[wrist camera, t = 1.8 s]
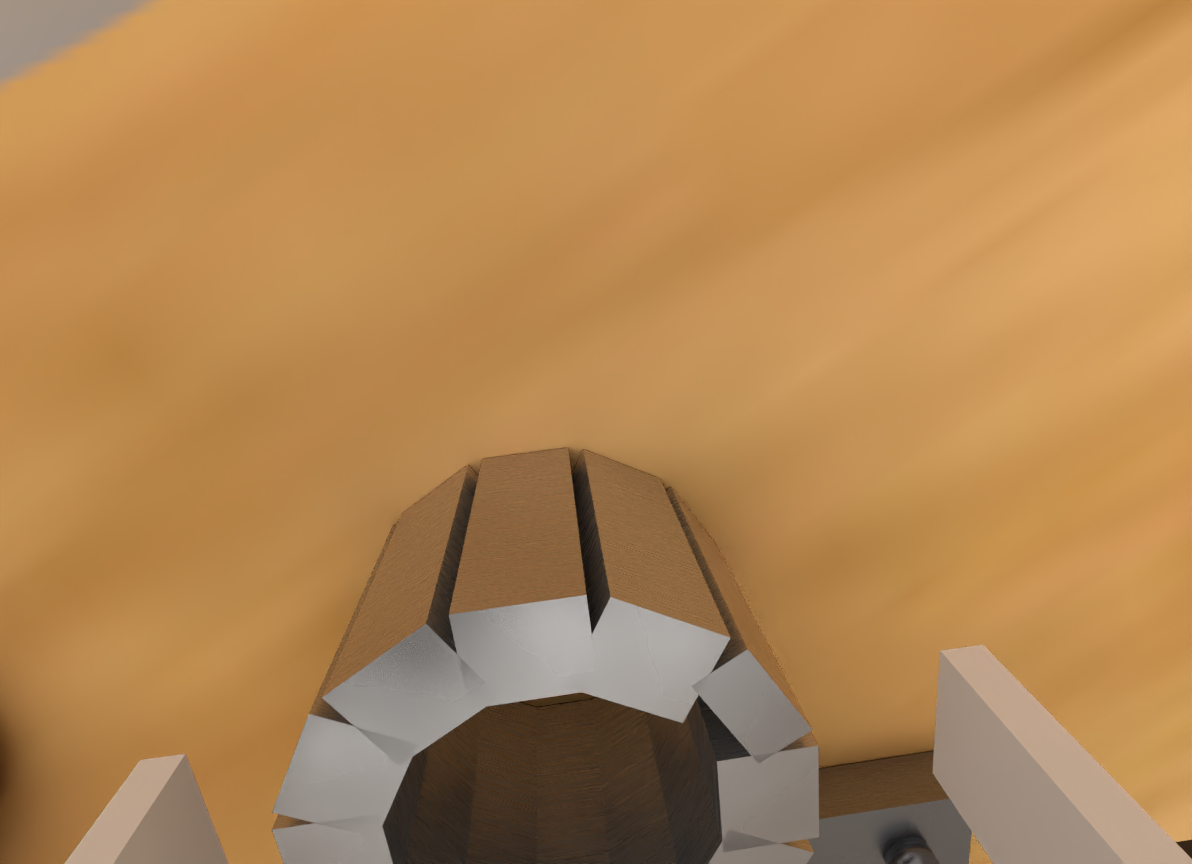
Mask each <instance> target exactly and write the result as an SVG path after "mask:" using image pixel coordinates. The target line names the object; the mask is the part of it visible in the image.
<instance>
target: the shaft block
mask: <svg viewBox="0 0 1192 864" xmlns="http://www.w3.org/2000/svg"><path fill="white" fill-rule="evenodd" d="M933 756H934V751H931V752H925V753H918V754H912V755H906V756H899V757H893V758H886V759H880V760H873V761H867V762H861V763H854V764H848V765H841V766H835V767H828V768H822V769H819V837H817V838H811V839H808V840H809V842H810V845H811V847H812V849H813V852H814V854H813V855H812V856H811V858H810V859H809V861H808V862H807V864H969V852H970V841H971V830H970V828H969V827H968V825H967V824H966V822H965V821H964V819H963V818H962V816H961V815H960V813H959V812H958V810H957V809H956V807H955V806H954V804H953V803H952V801H951V800H950V798H949V797H948V795H947V794H946V792H945V791H944V789H943V788H942V786H941V785H940V783H939V782H938V780H937V779H936V777H935V776H934V774H933V773H932V772H933Z"/></svg>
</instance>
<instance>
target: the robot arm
mask: <svg viewBox="0 0 1192 864" xmlns="http://www.w3.org/2000/svg"><path fill="white" fill-rule="evenodd" d="M932 773H933V774H934V776H935V777H936V779H937V780H938V782H939V783H940V785H941V786H942V788H943V789H944V791H945V792H946V794H947V795H948V797H949V798H950V800H951V801H952V803H953V804H954V806H955V807H956V809H957V810H958V812H959V813H960V815H961V816H962V818H963V819H964V821H965V822H966V824H967V825H968V827H969V828H970V830H971V831H972V833H973V834H974V836H975V837H976V839H977V840H978V842H979V843H980V845H981V846H982V848H983V849H984V851H985V852H986V854H987V855H988V857H989V858H990V860H991V861H992V863H993V864H1192V840H1187V841H1181V842H1175V841H1174V840H1173V839H1172V838H1171V837H1170V836H1169V835H1168V834H1167V833H1166V832H1165V831H1164V830H1163V829H1162V828H1161V827H1160V826H1159V825H1158V824H1157V823H1156V822H1155V821H1154V820H1153V819H1152V818H1151V817H1150V816H1149V814H1148V813H1147V812H1146V811H1145V810H1144V809H1143V808H1142V807H1141V806H1140V805H1139V804H1138V803H1137V802H1136V801H1135V800H1134V799H1133V798H1132V797H1131V796H1130V795H1129V794H1128V793H1127V792H1126V791H1125V790H1124V789H1123V788H1122V787H1121V786H1120V785H1119V784H1118V783H1117V782H1116V781H1115V780H1114V779H1113V778H1112V777H1111V776H1110V774H1109V773H1108V772H1107V771H1106V770H1105V769H1104V768H1103V767H1102V766H1101V765H1100V764H1099V763H1098V762H1097V761H1096V760H1095V759H1094V758H1093V757H1092V756H1091V755H1090V754H1089V753H1088V752H1087V751H1086V750H1085V749H1084V748H1083V747H1082V746H1081V745H1080V744H1079V743H1078V742H1077V741H1076V740H1075V739H1074V738H1073V737H1072V735H1071V734H1070V733H1069V732H1068V731H1067V730H1066V729H1065V728H1064V727H1063V726H1062V725H1061V724H1060V723H1059V722H1058V721H1057V720H1056V719H1055V718H1054V717H1053V716H1052V715H1051V714H1050V713H1049V712H1048V711H1047V710H1046V709H1045V708H1044V707H1043V706H1042V705H1041V704H1040V703H1039V702H1038V701H1037V700H1036V699H1035V698H1034V697H1033V695H1032V694H1031V693H1030V692H1029V691H1028V690H1027V689H1026V688H1025V687H1024V686H1023V685H1022V684H1021V683H1020V682H1019V681H1018V680H1017V679H1016V678H1015V677H1014V676H1013V675H1012V674H1011V673H1010V672H1009V671H1008V670H1007V669H1006V668H1005V667H1004V666H1003V665H1002V664H1001V663H1000V662H999V661H998V660H997V659H996V658H995V656H994V655H993V654H992V653H991V652H990V651H989V650H988V649H987V648H986V647H985V646H984V645H976V646H969V647H962V648H955V649H947V650H940V660H939V676H938V692H937V708H936V724H935V740H934V756H933V772H932ZM64 864H228V861H227V859H226V856H225V853H224V851H223V848H222V846H221V843H220V841H219V838H218V836H217V833H216V830H215V828H214V825H213V823H212V820H211V818H210V815H209V813H208V810H207V807H206V805H205V802H204V800H203V797H202V795H201V792H200V790H199V787H198V784H197V782H196V779H195V777H194V774H193V772H192V769H191V767H190V764H189V761H188V759H187V756H186V754H180V755H173V756H166V757H158V758H151V759H144V760H140V761H139V762H138V764H137V765H136V766H135V768H134V769H133V770H132V772H131V773H130V775H129V776H128V777H127V779H126V780H125V781H124V783H123V784H122V786H121V787H120V788H119V790H118V791H117V792H116V794H115V795H114V796H113V798H112V799H111V801H110V802H109V803H108V805H107V806H106V807H105V809H104V810H103V811H102V813H101V814H100V816H99V817H98V818H97V820H96V821H95V822H94V824H93V825H92V827H91V828H90V829H89V831H88V832H87V833H86V835H85V836H84V837H83V839H82V840H81V842H80V843H79V844H78V846H77V847H76V848H75V850H74V851H73V852H72V854H71V855H70V857H69V858H68V859H67V861H66V862H65V863H64Z"/></svg>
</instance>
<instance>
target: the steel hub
mask: <svg viewBox="0 0 1192 864" xmlns="http://www.w3.org/2000/svg"><path fill="white" fill-rule="evenodd" d="M581 692H583V693H586V694H589V695H592V696H596V697H595V698H593V699H591V700H584V701H577V702H571V703H564V704H557V705H550V706H544V707H534V706H530V705H527V704H524V703H520V701H527V700H533V699H540V698H547V697H554V696H560V695H567V694H574V693H581ZM811 731H812V728H811V726H810V724H809V722H808V720H807V718H806V716H805V714H804V712H803V710H802V708H801V707H800V705H799V703H798V701H797V699H796V697H795V695H794V693H793V691H792V689H791V687H790V685H789V683H788V682H787V680H786V678H785V676H784V674H783V672H782V670H781V668H780V666H779V664H778V662H777V660H776V659H775V657H774V655H773V653H772V651H771V649H770V647H769V645H768V643H767V641H766V639H765V637H764V636H763V634H762V632H761V630H760V628H759V626H758V624H757V622H756V620H755V618H754V616H753V614H752V613H751V611H750V609H749V607H748V605H747V603H746V601H745V599H744V597H743V595H742V593H741V591H740V590H739V588H738V586H737V584H736V582H735V580H734V578H733V576H732V574H731V572H730V570H729V568H728V567H727V565H726V563H725V561H724V559H723V557H722V555H721V553H720V551H719V549H718V547H717V545H716V544H715V543H714V541H713V540H712V539H711V538H710V536H709V535H708V534H707V532H706V531H705V530H704V528H703V527H702V526H701V525H700V523H699V522H698V521H697V519H696V518H695V517H694V516H693V514H692V513H691V512H690V510H689V509H688V508H687V506H686V505H685V504H684V503H683V501H682V500H681V499H680V497H679V496H678V495H677V494H676V492H675V491H674V490H673V488H672V487H670V488H669V489H667V490H666V491H665V489H664V486H663V484H662V482H661V479H660V478H657V477H655V476H652V475H649V474H647V473H644V472H642V471H639V470H636V469H634V468H631V467H628V466H626V465H623V464H621V463H618V462H615V461H613V460H610V459H608V458H605V457H602V456H600V455H597V454H594V453H592V452H589V451H587V450H584V449H583V451H582V453H581V455H580V458H579V460H578V462H577V464H576V466H575V469H574V471H573V473H571V465H570V458H569V451H568V448H561V449H553V450H546V451H538V452H531V453H523V454H516V455H508V456H501V457H493V458H486V459H482V463H481V467H480V472H479V476H478V475H477V474H476V473H475V472H474V471H473V470H472V469H471V467H470V466H469V465H467V466H466V467H464V468H463V469H462V470H460V471H459V472H458V473H456V474H455V475H454V476H452V477H451V478H449V479H448V480H447V481H445V482H444V483H443V484H441V485H440V486H439V487H437V488H436V489H435V490H433V491H432V492H431V493H429V494H428V495H427V496H425V497H424V498H423V499H421V500H420V501H419V502H417V503H416V504H414V505H413V506H412V507H410V508H409V509H408V510H406V511H405V512H404V513H402V515H401V517H400V519H399V522H398V524H397V526H395V525H393V527H392V529H391V531H390V534H389V536H388V538H387V540H386V543H385V545H384V547H383V549H382V552H381V554H380V556H379V558H378V560H377V563H376V565H375V567H374V569H373V572H372V574H371V576H370V578H369V581H368V583H367V585H366V587H365V590H364V592H363V594H362V596H361V598H360V601H359V603H358V605H357V607H356V610H355V612H354V614H353V616H352V619H351V621H350V623H349V625H348V628H347V630H346V632H345V634H344V636H343V639H342V641H341V643H340V645H339V648H338V650H337V652H336V654H335V657H334V659H333V661H332V663H331V666H330V668H329V670H328V672H327V674H326V677H325V679H324V681H323V683H322V686H321V688H320V690H319V692H318V695H317V697H316V699H315V701H314V704H313V706H312V708H311V710H310V712H309V715H308V718H307V720H306V723H305V726H304V728H303V731H302V734H301V736H300V739H299V742H298V744H297V747H296V750H295V752H294V755H293V758H292V760H291V763H290V766H289V768H288V771H287V774H286V776H285V779H284V782H283V784H282V787H281V790H280V792H279V795H278V798H277V800H276V803H275V806H274V808H273V811H272V813H276V814H278V817H277V819H276V821H275V824H274V826H273V828H272V832H273V834H274V837H275V840H276V843H277V846H278V849H279V851H280V854H281V857H282V860H283V863H284V864H807V862H808V861H809V859H810V858H811V856H812V855H813V854H814V852H813V849H812V847H811V845H810V842H809V840H808V839H811V838H817V837H819V762H818V744H817V742H816V740H815V738H814V736H813V734H812V732H811Z"/></svg>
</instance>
